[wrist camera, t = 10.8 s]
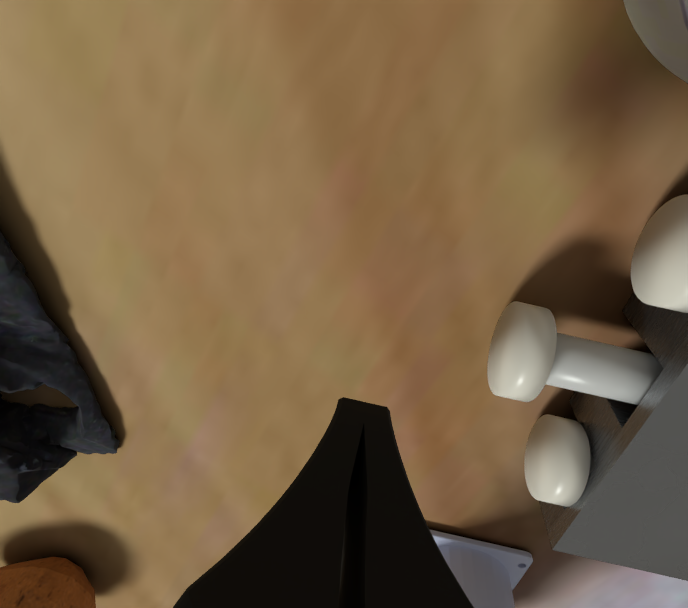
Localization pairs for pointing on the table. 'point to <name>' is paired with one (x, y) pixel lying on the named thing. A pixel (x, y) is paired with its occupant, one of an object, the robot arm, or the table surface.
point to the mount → (635, 463)
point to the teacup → (663, 31)
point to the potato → (45, 585)
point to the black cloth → (29, 373)
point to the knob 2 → (663, 258)
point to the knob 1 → (557, 460)
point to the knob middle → (562, 360)
